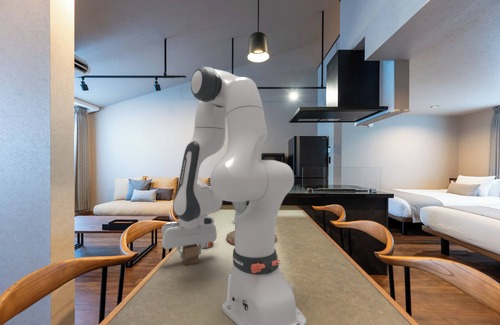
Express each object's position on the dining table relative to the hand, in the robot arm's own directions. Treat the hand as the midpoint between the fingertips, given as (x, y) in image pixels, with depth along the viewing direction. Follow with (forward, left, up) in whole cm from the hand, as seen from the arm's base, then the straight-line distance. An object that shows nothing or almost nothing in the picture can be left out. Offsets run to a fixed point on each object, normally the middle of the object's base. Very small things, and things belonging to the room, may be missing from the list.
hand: (190, 255), depth 87 cm
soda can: (+13, -10, -2) cm, 17 cm away
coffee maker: (+39, -41, -2) cm, 57 cm away
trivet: (+12, -33, -3) cm, 35 cm away
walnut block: (0, 0, -2) cm, 2 cm away
